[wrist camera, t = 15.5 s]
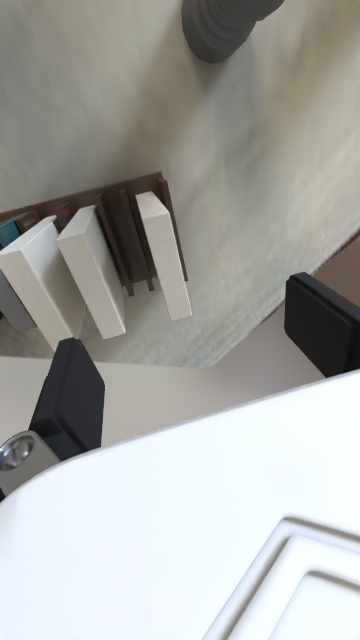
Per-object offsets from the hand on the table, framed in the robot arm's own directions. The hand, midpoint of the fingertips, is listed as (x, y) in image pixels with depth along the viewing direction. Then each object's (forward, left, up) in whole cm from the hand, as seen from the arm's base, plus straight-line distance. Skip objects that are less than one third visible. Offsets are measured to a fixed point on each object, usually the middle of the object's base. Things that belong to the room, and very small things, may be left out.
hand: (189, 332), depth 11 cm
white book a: (-6, -8, -24) cm, 26 cm away
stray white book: (+1, -1, -24) cm, 24 cm away
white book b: (-4, -5, -24) cm, 25 cm away
